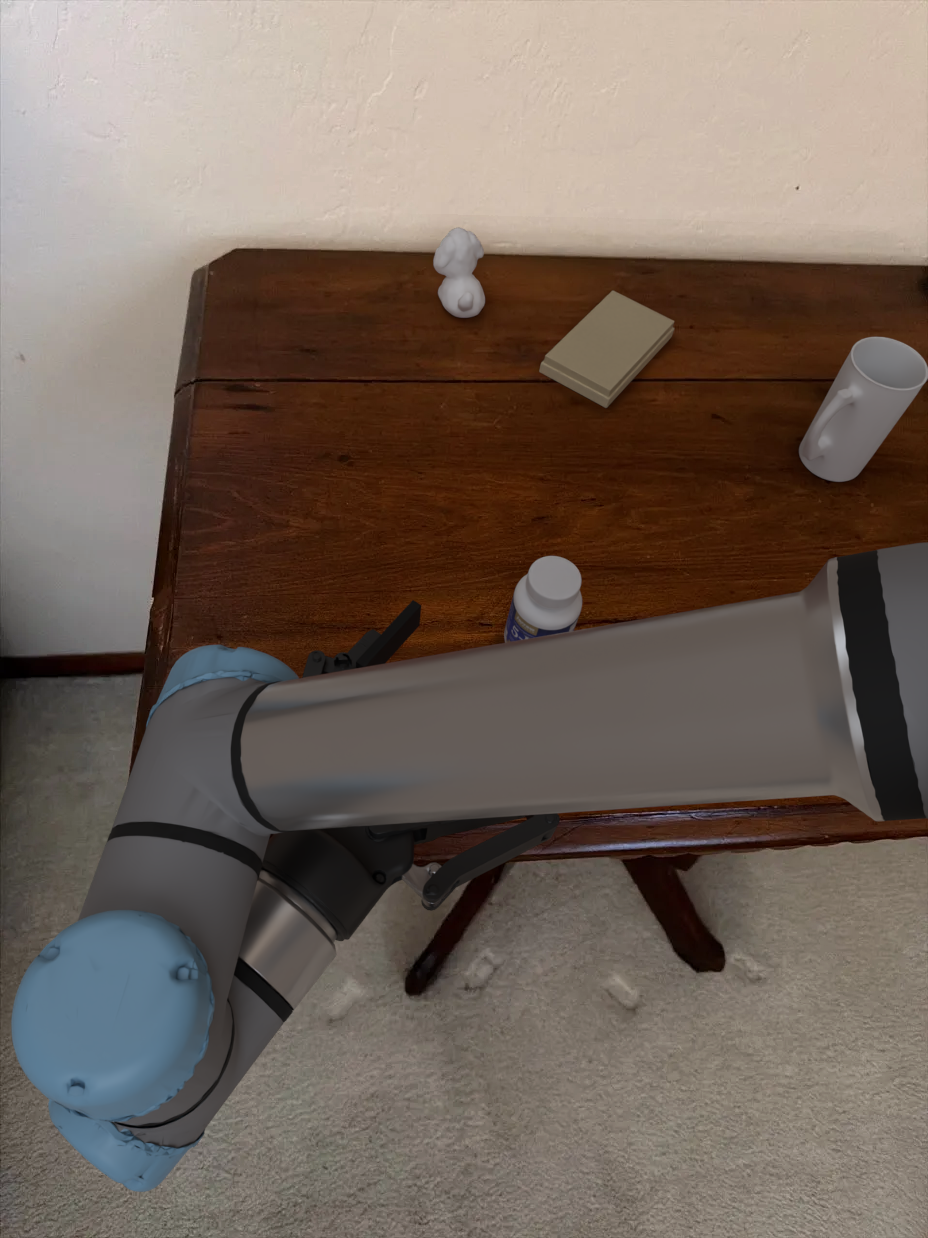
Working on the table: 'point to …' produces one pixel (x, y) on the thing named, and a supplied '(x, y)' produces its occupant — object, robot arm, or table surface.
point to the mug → (862, 407)
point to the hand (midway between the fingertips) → (493, 662)
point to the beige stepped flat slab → (607, 348)
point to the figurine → (460, 273)
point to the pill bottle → (545, 600)
